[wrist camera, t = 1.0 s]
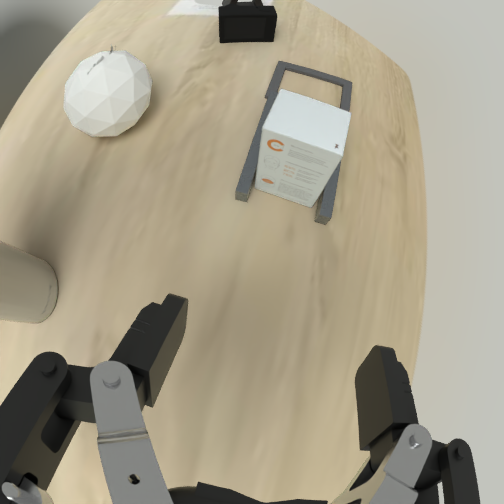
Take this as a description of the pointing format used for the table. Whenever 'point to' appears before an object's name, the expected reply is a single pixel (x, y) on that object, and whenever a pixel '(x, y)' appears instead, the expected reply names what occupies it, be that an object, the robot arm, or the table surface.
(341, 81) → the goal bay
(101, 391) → the robot arm
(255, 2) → the phone stand
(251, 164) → the grey u-shaped frame
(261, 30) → the digital camera
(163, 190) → the table surface
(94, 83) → the geodesic sphere
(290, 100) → the small box
